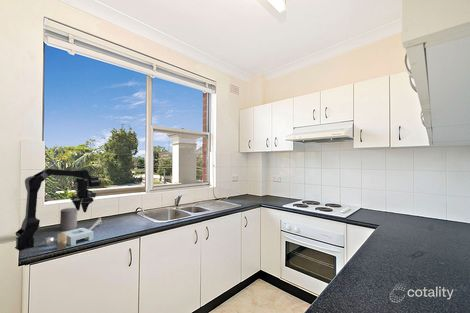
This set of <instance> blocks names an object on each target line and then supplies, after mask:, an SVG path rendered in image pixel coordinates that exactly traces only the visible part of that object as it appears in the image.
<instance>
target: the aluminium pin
mask: <svg viewBox="0 0 470 313" xmlns="http://www.w3.org/2000/svg"><path fill="white" fill-rule="evenodd" d="M54 245H55V237H54V236H48V237H45V238H44V247H51V246H54Z"/></svg>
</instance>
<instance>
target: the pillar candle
mask: <svg viewBox="0 0 470 313" xmlns="http://www.w3.org/2000/svg"><path fill="white" fill-rule="evenodd" d="M59 220H60V223H59V230H60V231H63V232H66V231H70V230H74V229H77V228H78V227H77V226H78V211H77V209H76V207H67V208H62V209H61V210H60V218H59Z"/></svg>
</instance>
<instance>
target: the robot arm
mask: <svg viewBox="0 0 470 313" xmlns="http://www.w3.org/2000/svg"><path fill="white" fill-rule="evenodd" d="M50 176H60V177H61V176H62V177H63V176H64V177H73V178H75V179H74V180H72V182H73V183H76V189H75V192H76V194H74V195H71V196H70V201H71V202H72V204H73V205H74V208H76V209H77V212H79V211H80V209H82V211H83V213H87V210H88V207H89V205H90V204H92V203H93V202H94V199H95V198H96V196H97V193H96V192H93V191H92V190H89V189H88V188H97V187H100V186H101V180H100V178H99V177H97V176H96V177H93V176H91V175H90V174H89V171H88V169H87V170H86V169H74V170H73V169H72V170H69V169H68V170H66V169H56V168H55V169H54V168H53V169H52V168H44V169H43V170H41V171H40V172H37V173H36V174H33V175H31V176H28V177H26V178H25V179H24V185H25V189H26V206H25V215H24V216H25V217H24V219H23V221H22V223H21V225H20V226H21V227H20V228H18V230H17V231H16V232H15V236H16V239H15V247H14V249H15V250H17V251H23V250H26V249H30V248H33V247H35V246H34V245H35V237H34V235H35V233H36V232H37V231H38V229H39V228H40V221H41V220H40V219H39V218H37V215H36V214H37V206H38V204H37V202H38V193H39V190H40V188H41V187H42V186H41V185H42V184H43V182H44V181H46V180H47V179H48V178H49V177H50Z"/></svg>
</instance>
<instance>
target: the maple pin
mask: <svg viewBox="0 0 470 313" xmlns="http://www.w3.org/2000/svg"><path fill="white" fill-rule="evenodd" d="M56 236H57V239H56V240H57V241H56V242H57V243H56V245H57V250H58V251H59V250H64V249H67V244H66V238H67V233H62V232H59V233H57V235H56Z"/></svg>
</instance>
